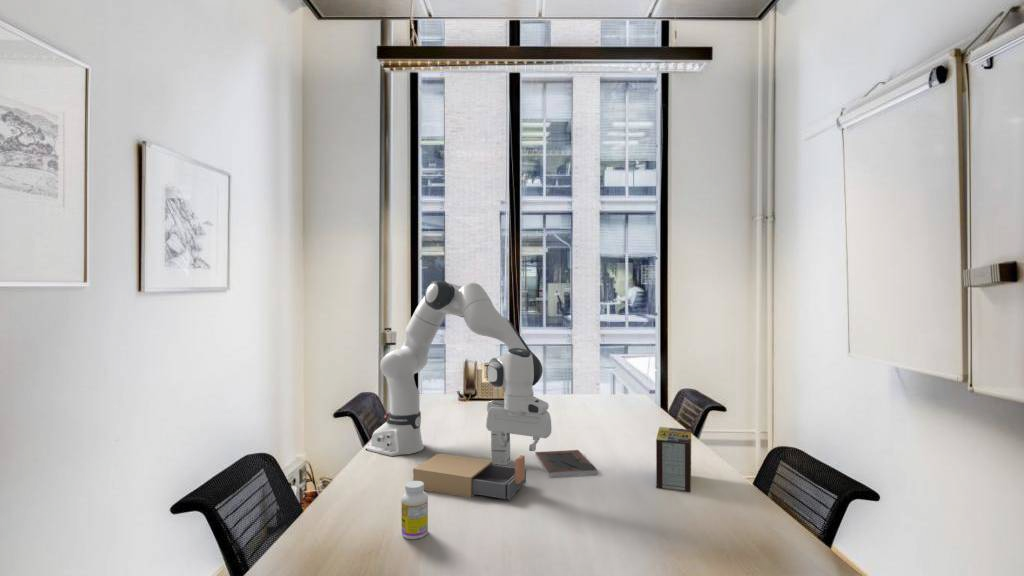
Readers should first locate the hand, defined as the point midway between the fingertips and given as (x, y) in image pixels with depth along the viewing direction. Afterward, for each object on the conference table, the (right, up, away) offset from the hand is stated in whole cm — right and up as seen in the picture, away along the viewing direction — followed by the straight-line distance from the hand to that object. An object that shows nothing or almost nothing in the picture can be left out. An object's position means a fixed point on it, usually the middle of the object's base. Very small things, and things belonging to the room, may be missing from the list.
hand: (517, 448), depth 161 cm
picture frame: (+17, -15, +26) cm, 34 cm away
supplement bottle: (-27, -14, -26) cm, 39 cm away
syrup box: (-6, -14, +29) cm, 32 cm away
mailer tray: (-9, -13, +4) cm, 16 cm away
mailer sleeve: (-20, -14, +9) cm, 26 cm away
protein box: (+50, -14, +10) cm, 53 cm away
